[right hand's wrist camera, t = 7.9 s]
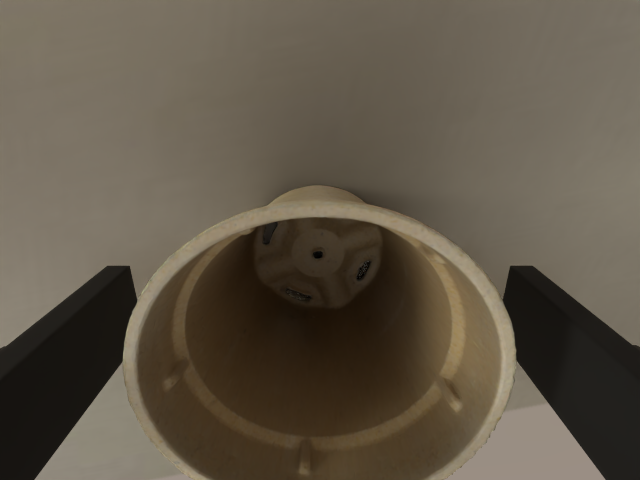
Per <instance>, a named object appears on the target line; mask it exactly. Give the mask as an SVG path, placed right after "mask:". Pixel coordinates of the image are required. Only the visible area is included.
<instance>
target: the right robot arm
mask: <svg viewBox="0 0 640 480" xmlns="http://www.w3.org/2000/svg"><path fill="white" fill-rule="evenodd" d="M503 303H504V306H505V308H506V310H507V312H508V315H509V317H510V320H511V322H512V327H513V331H514V338H515V348H516V360H517V361H518V363H519V364H520V366H521V367H522V368H523V370H524V371H525V372H526V374H527V375H528V376H529V378H530V379H531V380H532V382H533V383H534V384H535V386H536V387H537V388H538V390H539V391H540V392H541V394H542V395H543V396H544V398H545V399H546V400H547V402H548V403H549V404H550V406H551V407H552V408H553V410H554V411H555V412H556V414H557V415H558V416H559V418H560V419H561V420H562V422H563V423H564V424H565V426H566V427H567V428H568V430H569V431H570V432H571V434H572V435H573V437H574V438H575V439H576V441H577V442H578V443H579V445H580V446H581V447H582V449H583V450H584V451H585V453H586V454H587V455H588V457H589V458H590V459H591V460H592V462H593V463H594V465H595V466H596V467H597V469H598V470H599V471H600V473H601V474H602V475H603V477H604V478H605V479H606V480H640V347H639V346H637V345H632V344H630V343H629V342H628V341H626V340H625V339H624V338H623V337H621V336H620V335H619V334H618V333H616V332H615V331H614V330H613V329H611V328H610V327H609V326H608V325H606V324H605V323H604V322H603V321H601V320H600V319H599V318H598V317H596V316H595V315H594V314H593V313H591V312H590V311H589V310H587V309H586V308H585V307H584V306H582V305H581V304H580V303H579V302H577V301H576V300H575V299H574V298H572V297H571V296H570V295H569V294H567V293H566V292H565V291H564V290H562V289H561V288H560V287H559V286H557V285H556V284H555V283H553V282H552V281H551V280H550V279H548V278H547V277H546V276H545V275H543V274H542V273H541V272H540V271H538V270H537V269H536V268H535V267H533V266H510V270H509V274H508V279H507V284H506V288H505V293H504V298H503ZM136 304H137V298H136V293H135V288H134V284H133V279H132V274H131V270H130V266H107V267H105V268H104V269H103V270H102V271H100V272H99V273H98V274H97V275H95V276H94V277H93V278H92V279H90V280H89V281H88V282H87V283H85V284H84V285H83V286H81V287H80V288H79V289H78V290H76V291H75V292H74V293H73V294H71V295H70V296H69V297H68V298H66V299H65V300H64V301H63V302H61V303H60V304H59V305H58V306H56V307H55V308H54V309H53V310H51V311H50V312H49V313H47V314H46V315H45V316H44V317H42V318H41V319H40V320H39V321H37V322H36V323H35V324H34V325H32V326H31V327H30V328H29V329H27V330H26V331H25V332H24V333H22V334H21V335H20V336H19V337H17V338H16V339H15V340H14V341H12V342H11V343H10V344H8V345H7V346H6V347H2V348H0V480H34V479H35V478H36V477H37V475H38V474H39V473H40V471H41V470H42V469H43V467H44V466H45V465H46V463H47V462H48V461H49V459H50V458H51V457H52V455H53V454H54V453H55V451H56V450H57V449H58V447H59V446H60V445H61V443H62V442H63V441H64V439H65V438H66V437H67V435H68V434H69V432H70V431H71V430H72V428H73V427H74V426H75V424H76V423H77V422H78V420H79V419H80V418H81V416H82V415H83V414H84V412H85V411H86V410H87V408H88V407H89V406H90V404H91V403H92V402H93V400H94V399H95V398H96V396H97V395H98V394H99V392H100V391H101V390H102V388H103V387H104V386H105V384H106V383H107V382H108V380H109V379H110V378H111V376H112V375H113V374H114V372H115V371H116V370H117V368H118V367H119V366H120V364H121V363H122V361H123V351H124V341H125V337H126V331H127V327H128V323H129V320H130V317H131V315H132V311H133V310H134V308H135V306H136Z"/></svg>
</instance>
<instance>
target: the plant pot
mask: <svg viewBox="0 0 640 480" xmlns="http://www.w3.org/2000/svg"><path fill="white" fill-rule="evenodd" d="M272 222H277V224H278V225H277V227H276V228H275V230H274V231H273V233H272V236H271V239H270V242H269V243H268V244H265V243H263V241H264V232H265V229H266V226H267V224H268V223H272ZM317 251H321V252H322V255H323V256H322V257H321V258H315V257H314V255H313V253H314V252H317ZM365 261H370V262H371V263H370V265H369V268H368V270H367V272H366V274H365V275H364V277H363V278H361V279H359V280H357V279H356V277H357V276H358V273H359V271H360V269H359V267H360V268H361V267H362V266H363V264H364V263H365ZM287 288H289V289H291V290H294V291H296V292H299V293H301V294H304V295H309V296H310V297H311V298H310V300H299V299H297V298H294V297H292V296H290V295H289V294H288V293H287V292H286V289H287ZM515 372H516V348H515V338H514V331H513V327H512V322H511V320H510V317H509V315H508V312H507V310H506V308H505V306H504V303H503V300H502V298H501V296H500V294H499V292H498V291H497V289H496V287H495V286H494V285H493V283H492V282H491V280H490V279H489V278H488V276H487V275H486V273H485V272H484V271H483V270H482V268H481V267H480V266H479V265H478V264H477V263H476V262H475V261H474V260H473V259H472V258H471V257H470V256H468V255H467V254H466V253H465V252H464V251H463V250H462V249H461V248H460V247H458V246H457V245H456V244H455V243H453V242H452V241H450V240H449V239H448V238H446V237H445V236H443V235H442V234H441V233H439V232H437V231H436V230H434V229H432V228H431V227H429V226H427V225H425V224H423V223H421V222H419V221H417V220H415V219H413V218H411V217H408V216H406V215H403V214H400V213H398V212H395V211H393V210H389V209H386V208H382V207H378V206H374V205H369V204H366V203H365V202H364V201H362V200H361V199H360V198H358V197H357V196H355V195H353V194H352V193H350V192H348V191H345V190H342V189H339V188H335V187H330V186H322V185H313V186H306V187H302V188H297V189H294V190H291V191H289V192H287V193H284V194H283V195H281V196H279V197H278V198H276V199H275V200H273V201H272V202H271V203H270V204H269V205H268V206H264V207H260V208H256V209H252V210H249V211H246V212H243V213H240V214H237V215H235V216H233V217H231V218H229V219H226V220H224V221H222V222H220V223H218V224H216V225H214V226H212V227H210V228H209V229H207V230H205V231H204V232H202V233H201V234H199V235H198V236H196V237H195V238H193V239H192V240H190V241H189V242H188V243H186V244H185V245H184V246H182V247H181V248H180V249H179V250H178V251H176V252H175V253H174V254H172V255H171V256H170V257H169V258H168V259H167V260H166V261H165V262H164V263H163V264H162V265H161V266H160V268H159V269H158V270H157V271H156V273H155V274H154V275H153V276H152V278H151V279H150V281H149V282H148V284H147V286H146V287H145V288H144V290H143V291H142V293H141V295H140V297H139V299H138V301H137V304H136V306H135V308H134V310H133V311H132V315H131V317H130V320H129V323H128V327H127V331H126V337H125V341H124V351H123V373H124V380H125V386H126V388H127V394H128V399H129V402H130V405H131V407H132V408H133V410H134V412H135V414H136V417H137V420H138V421H139V422H140V424H141V426H142V429H143V430H144V432H145V434H146V435H147V436H148V437H149V438H150V440H151V442H152V443H153V444H154V445H155V446H156V448H157V449H158V450H159V451H160V452H161V453H162V455H163V456H165V457H166V458H167V459H168V460H169V461H170V462H171V463H173V464H174V465H175V466H176V467H177V468H178V469H179V470H180V471H181V472H182V473H183V474H185V475H187V476H189V477H190V478H192V479H194V480H444V479H446V478H448V476H450V475H452V474H453V473H454V472H455V471H456V470H457V469H458V468H461V467H462V466H463V464H464V463H466V462H467V461H468V460H469V459H471V458H472V457H473V456H474V455H475V454H476V452H477V451H478V450H479V449H480V448H482V446H483V445H484V444H485V443H487V439H488V438H490V434H491V432H492V431H494V430H495V427H496V425H497V423H498V421H499V420H500V419H501V416H502V414H503V412H504V410H505V408H506V405H507V403H508V400H509V398H510V395H511V391H512V387H513V383H514V381H515V379H514V375H515Z"/></svg>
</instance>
